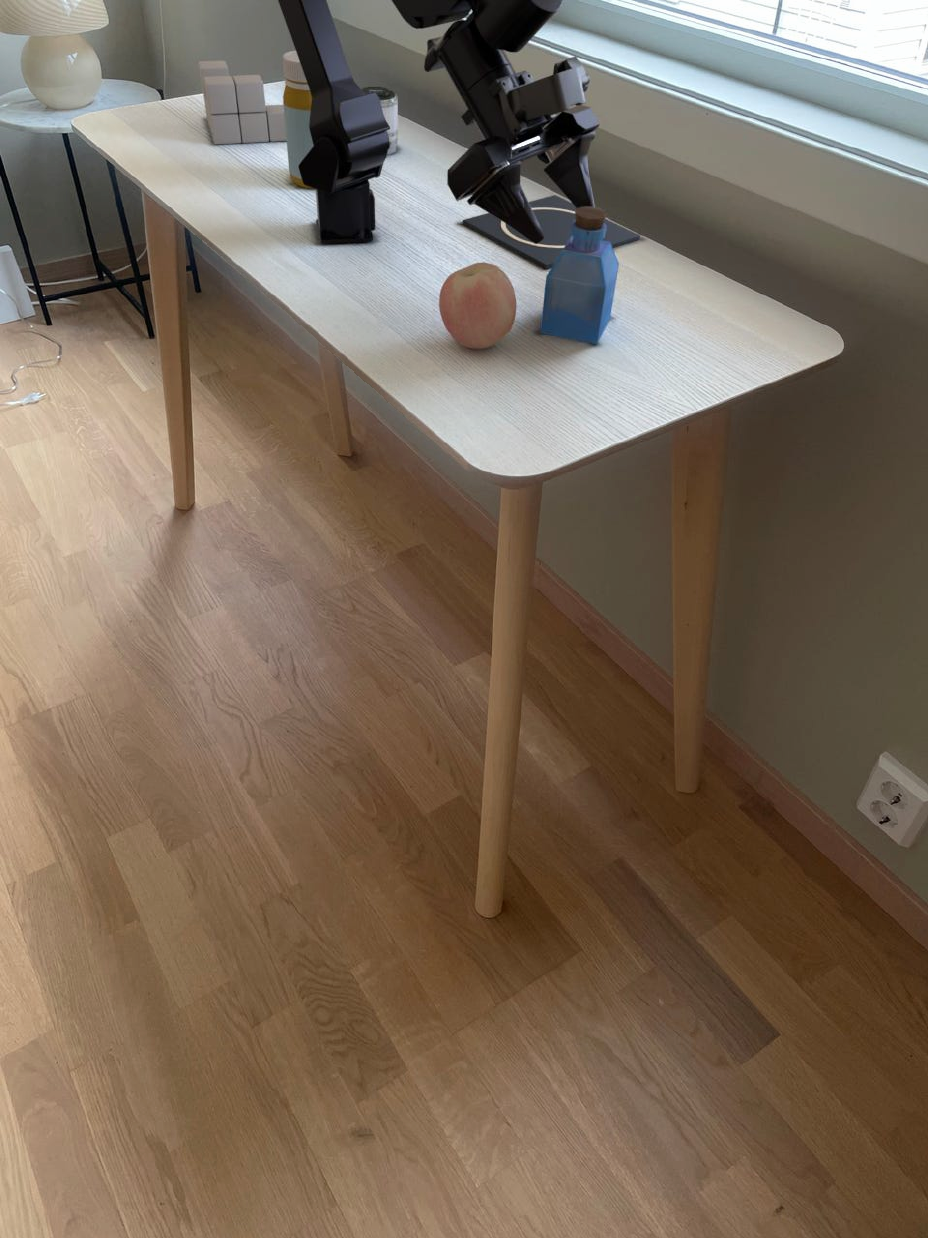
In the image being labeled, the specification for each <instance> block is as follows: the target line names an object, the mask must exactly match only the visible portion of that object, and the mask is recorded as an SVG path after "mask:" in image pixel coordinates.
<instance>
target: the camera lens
mask: <svg viewBox="0 0 928 1238" xmlns="http://www.w3.org/2000/svg"><path fill="white" fill-rule="evenodd" d="M361 89H362V90H363V92H364V93H365V94H366V93H370V92H373V91H375V92H376V93H377V95H378V97H379V99H380V103H381V107H382V111H383V115H384V117H385V120H386V122H387V123H388V125H389V126H390V130H387V132H388V136H389V141H390V148H389V149H388V152H387V156H388V155H391V154H394V153H395V152H396V151H397V145H398V138H399V99H398V95H397V94H396V93H395V92H394V91H393V90H391V89H389V88H387V87H382V86H367V87H366V86H365V87H363V88H361Z"/></svg>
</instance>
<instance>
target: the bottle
mask: <svg viewBox="0 0 928 1238" xmlns="http://www.w3.org/2000/svg"><path fill="white" fill-rule="evenodd" d="M282 65H283V75H284V84H285V86H284V90H283V93H282V94H283V95H282V105H284V117H285V128H286V140H287V141H286V149H287V161H288V163H287V164H288V172H289V178H290V179H291V181H292V182H293V183H294V184H295V185H297V186H299V187H301V188H305V189H313V190H315V189H314V188H311V187H309V186H306V185H304V184H303V181H302V178H301V174H300V171H299V167H298V166H299V164H300V163H301V161H302V160H303V159H304V157H305V156H306V155H307V154H308V152H309V151H310V150H311V149H312V147H313V146H314V145H313V141H312V137H311V133H310V129H309V121H310V112H311V103H312V96H311V92H310V89H309V86H308V83H307V80H306V78H305V75H304V72H303V69H302V66H301V64H300V61H299V58H298V55H297V52H296V50H291V51H288V52H285V53H284V54H283V56H282Z"/></svg>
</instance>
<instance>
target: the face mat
mask: <svg viewBox="0 0 928 1238" xmlns="http://www.w3.org/2000/svg"><path fill="white" fill-rule="evenodd" d="M528 202H529V204H530V206H531V208H532V210H533V212H534V215H535V217H536V219H537V221H538V223H539V225H540V228H541V231H542V233H543V236H544V239H543V240H542V241H541V242H540V243H538V244H534V243H533V242H531V241H530V240H529V239H527V238H526V237H524V236H523V235H522V234H520V233H519V232H517V231H516V230H514V229H513V228H512V227H510V226H509V225H507V224H506V223H504V222H503V221H501V220H500V219H498V218H497V217H495V216H493V215H492V214H490V213H488V212H487V213H484V214H483V213H482V214H480V215H475V216H472V217H469V218H465V219H462V224H463V226H466V227H468V228H470V229H472V230H473V231H476V232H477V233H479V234H481V235H483V236H485V237H486V238H488V239H490V240H492V241H493V242H496V243H497V244H499V245H501V246H503V247H504V248H507V249H509V250H510V251H511V252H513V253H516V254H518V255H520V256H521V257H523V258H525V259H527V260H528V261H531V262H532V263H534V264H536V265H537V266H540V267H542V268H544V269H545V270H547V269H551V268H552V266H553V265H554V263H555V261H556V260H557V258H558V256H559V255H560V253H561V252H562V250H563V248H564V247H565V245H566V244H567V242H568V241H569V239H570V238H571V236H572V235H571V229H572V222H573V221H574V220H576V217H575V210H576V209H577V208H576V207H575V206H574V205H573V203H572V202H571V201H568V200H566V199H565V198H562V197H560V196H558V195H556V194H554V195H551V196H547V197H543V198H539V199H536V200H532V201H528ZM604 223H605V224H606V233H605V238H604V239H602V241H607V242H610V243H611V246H612V248H613V249H614V248H616V247H619V246H623V245H626V244H629V243H632V242H635V241H638V240H640V239H641V235H640V234H638V233H636V232H634V231H632V230H630V229H628V228H625V227H623V226H621V225H618V224H617V223H615V222H613V221H610V220H608V219H607V218H605V221H604Z"/></svg>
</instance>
